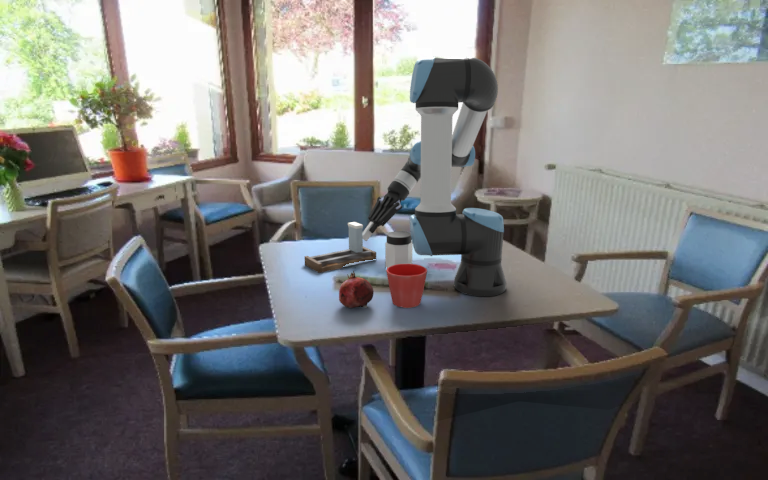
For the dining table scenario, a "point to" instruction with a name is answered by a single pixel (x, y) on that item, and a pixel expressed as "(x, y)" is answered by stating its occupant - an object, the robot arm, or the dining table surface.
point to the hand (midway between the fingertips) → (363, 238)
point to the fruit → (355, 292)
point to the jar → (398, 248)
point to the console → (337, 259)
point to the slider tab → (355, 237)
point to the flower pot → (406, 284)
